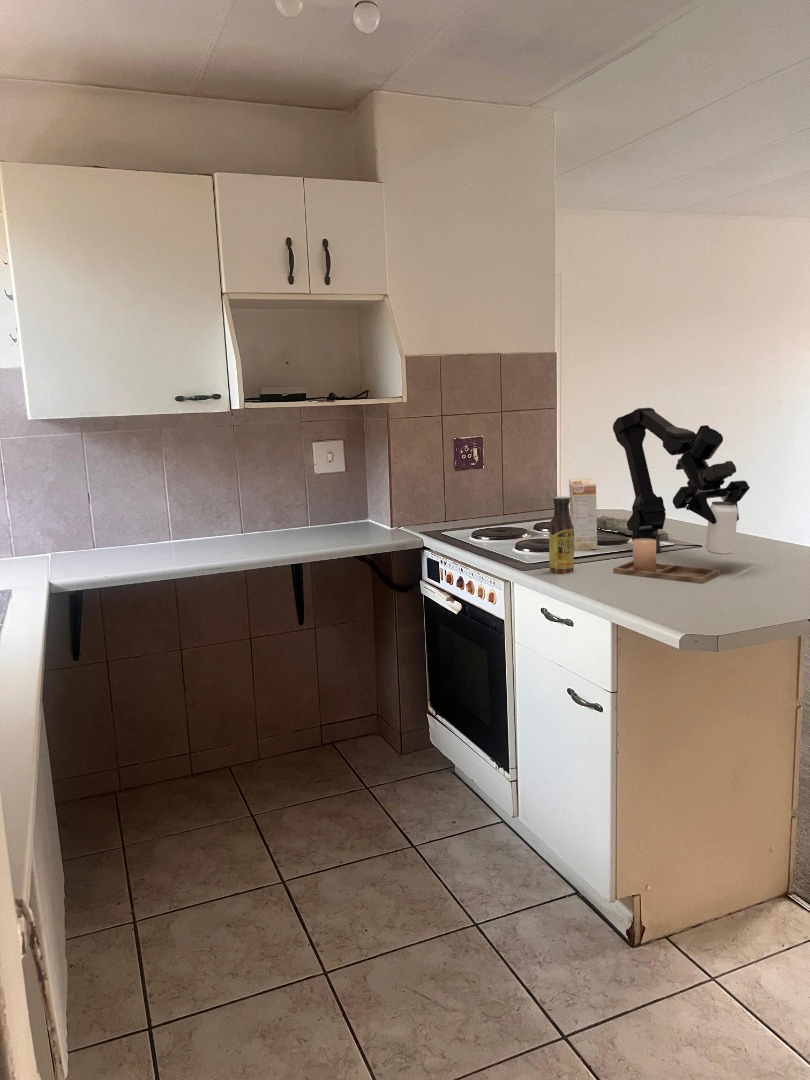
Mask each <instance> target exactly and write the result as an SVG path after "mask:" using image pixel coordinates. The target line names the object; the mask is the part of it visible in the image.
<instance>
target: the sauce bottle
mask: <svg viewBox="0 0 810 1080" xmlns="http://www.w3.org/2000/svg"><path fill="white" fill-rule="evenodd" d="M553 507H554V508H553V509H554V510H553V517H552V518H551V520H550V522H549V533H548V535H549V538H548V539H549V540H548V542H549V545H548V546H549V547H548V548H549V550H548V551H549V553H548V554H549V556H548V558H549V561H548V562H549V563H548V565H549V573H550V574H555V575H565V574H571V573H573V572H574V567H575V559H574V558H575V551H574V528H573V525H572V522H571V519H570V496H554V497H553Z"/></svg>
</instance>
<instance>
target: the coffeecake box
mask: <svg viewBox="0 0 810 1080" xmlns="http://www.w3.org/2000/svg"><path fill="white" fill-rule="evenodd" d="M568 483H569V484H568V485H569V486H568V488H569V491H568V493H569V498H570V503H569V515H570V519H571V522H572V525H573V528H574V549H577V550H581V551H592V550H591V549H597V550H598V529H597V517H598V515H597V512H598V511H597V510H598V509H597V484H596V482H595V481H594V480H593V478H592V477H591V478H588V477H587V478H570V479H569V480H568ZM589 549H590V550H589Z"/></svg>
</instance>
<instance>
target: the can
mask: <svg viewBox="0 0 810 1080" xmlns="http://www.w3.org/2000/svg"><path fill="white" fill-rule="evenodd" d="M736 505H737V507H738V503H737V504H736V503H732V502H723V500H722V501H712V502H711V505H710V506H709V507H710V509H711V510H712V512H713V514H714V516H715V518H716V521H717V522H716V523H715V524H712V523H711V522H709V521H708V520H707V530H706V531H707V532H706V541H705V542H706V543H705V550H706V552H707V553H710V554H716V555H731V554H733V553H734V551H735V544H736V534H737V525H738V524H737V523H738V521H737V514H739V509H738V510H737V507H736Z"/></svg>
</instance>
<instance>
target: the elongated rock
mask: <svg viewBox="0 0 810 1080" xmlns="http://www.w3.org/2000/svg"><path fill="white" fill-rule="evenodd" d="M628 520H629V519H627V518H615V517H609V516H605V515H601V516H600V517H598V516H597V528H600V529H604V530H611V531H617V532H622V533H626V534H630V535H632V536H631V537H633V531H629V530H628V528H627V522H628ZM622 533H621V534H622ZM658 535H659V536H660V542H664V541H663V540H666V541H668V540H669V533H668V532H667V531H666V530H663V529H658ZM667 539H668V540H667Z"/></svg>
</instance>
